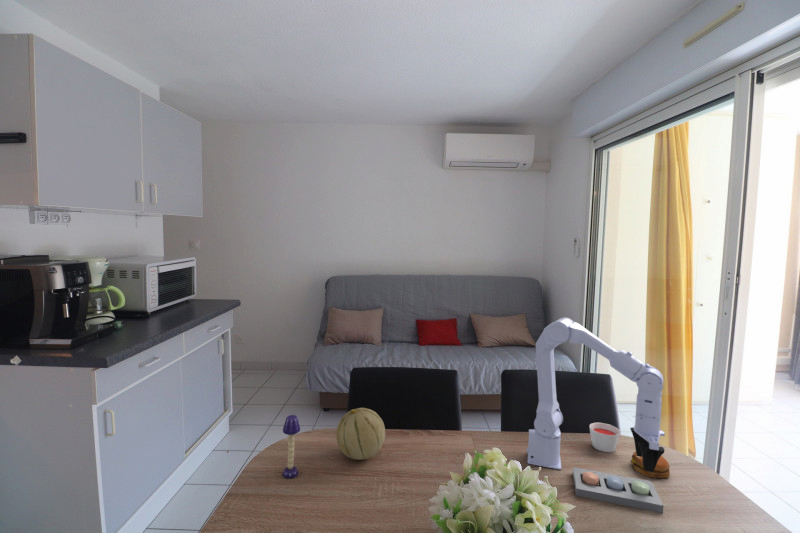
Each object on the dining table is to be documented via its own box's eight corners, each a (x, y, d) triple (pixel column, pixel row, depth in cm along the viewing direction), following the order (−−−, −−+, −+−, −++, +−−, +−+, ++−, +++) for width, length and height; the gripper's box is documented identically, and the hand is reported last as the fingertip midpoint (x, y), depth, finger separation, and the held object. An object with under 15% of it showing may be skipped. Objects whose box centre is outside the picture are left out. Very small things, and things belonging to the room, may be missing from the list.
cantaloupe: (393, 460, 123) (395, 412, 122) (350, 475, 115) (351, 423, 114) (369, 440, 135) (370, 395, 134) (327, 452, 127) (328, 404, 126)
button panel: (576, 495, 108) (576, 488, 108) (572, 473, 119) (572, 466, 119) (662, 513, 102) (663, 505, 102) (651, 488, 113) (651, 481, 112)
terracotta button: (583, 485, 111) (583, 478, 111) (581, 477, 115) (581, 470, 115) (599, 488, 110) (599, 481, 110) (597, 480, 114) (597, 473, 113)
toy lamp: (303, 472, 115) (303, 415, 114) (292, 481, 111) (292, 421, 110) (289, 468, 117) (290, 411, 116) (278, 476, 113) (278, 418, 112)
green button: (633, 495, 107) (633, 487, 107) (629, 486, 111) (630, 479, 111) (650, 498, 106) (650, 491, 106) (646, 489, 110) (647, 482, 110)
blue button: (607, 490, 109) (608, 483, 109) (605, 482, 113) (605, 475, 113) (624, 493, 108) (624, 486, 108) (621, 485, 112) (621, 478, 112)
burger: (676, 476, 119) (677, 461, 119) (652, 482, 116) (653, 466, 116) (646, 459, 128) (647, 445, 128) (623, 464, 125) (624, 449, 125)
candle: (624, 455, 130) (625, 435, 130) (596, 454, 130) (597, 434, 130) (610, 441, 139) (611, 423, 139) (583, 440, 139) (584, 422, 139)
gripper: (674, 427, 101) (670, 480, 102) (657, 405, 115) (654, 452, 116) (642, 423, 103) (638, 475, 104) (629, 402, 117) (626, 448, 118)
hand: (644, 463), depth 110 cm, fingers open, 7 cm apart
